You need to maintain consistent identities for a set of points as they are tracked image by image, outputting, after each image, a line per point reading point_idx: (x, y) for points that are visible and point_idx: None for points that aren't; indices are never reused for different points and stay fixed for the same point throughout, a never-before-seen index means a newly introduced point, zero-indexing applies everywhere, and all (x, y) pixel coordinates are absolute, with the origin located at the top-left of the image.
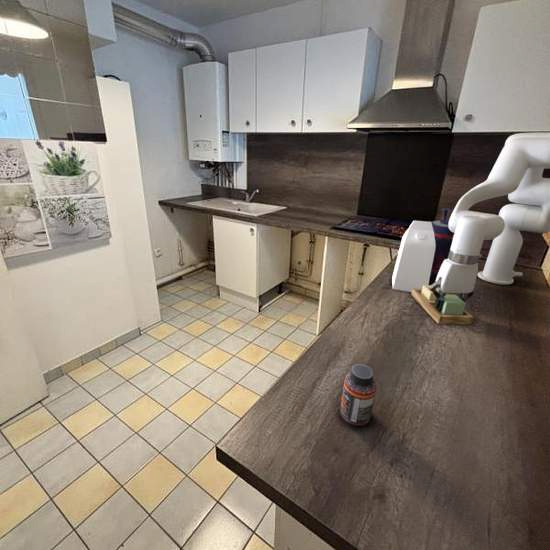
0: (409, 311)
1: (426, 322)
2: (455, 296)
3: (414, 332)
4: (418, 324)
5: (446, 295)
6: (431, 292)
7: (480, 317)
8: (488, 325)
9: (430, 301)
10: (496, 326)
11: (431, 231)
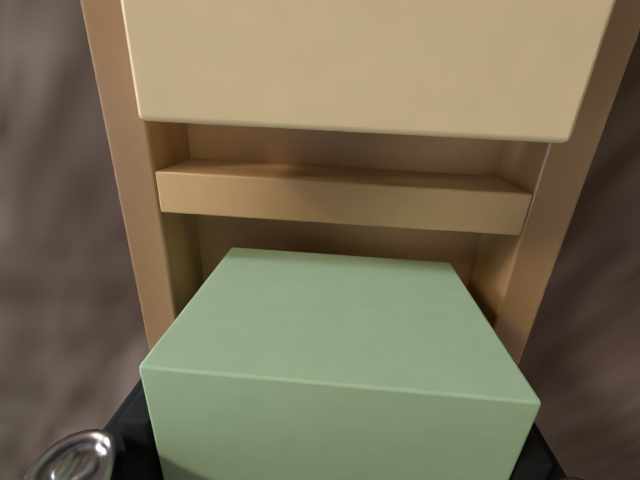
0: (16, 233)
1: (123, 384)
2: (469, 465)
3: (23, 458)
4: (61, 399)
5: (311, 421)
6: (148, 118)
7: (634, 352)
8: (571, 442)
9: (190, 200)
10: (620, 455)
11: None
